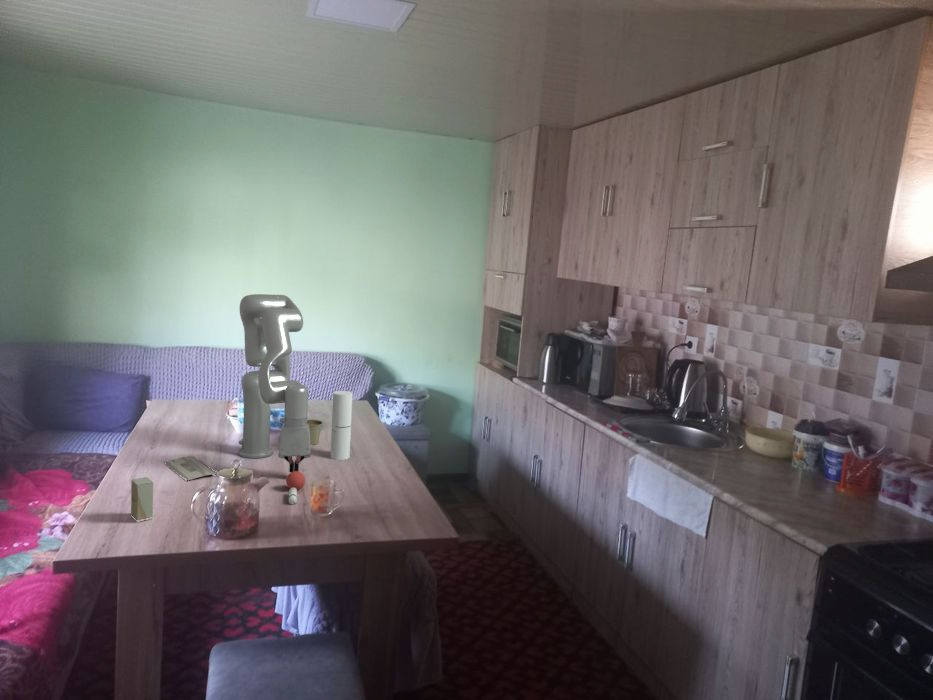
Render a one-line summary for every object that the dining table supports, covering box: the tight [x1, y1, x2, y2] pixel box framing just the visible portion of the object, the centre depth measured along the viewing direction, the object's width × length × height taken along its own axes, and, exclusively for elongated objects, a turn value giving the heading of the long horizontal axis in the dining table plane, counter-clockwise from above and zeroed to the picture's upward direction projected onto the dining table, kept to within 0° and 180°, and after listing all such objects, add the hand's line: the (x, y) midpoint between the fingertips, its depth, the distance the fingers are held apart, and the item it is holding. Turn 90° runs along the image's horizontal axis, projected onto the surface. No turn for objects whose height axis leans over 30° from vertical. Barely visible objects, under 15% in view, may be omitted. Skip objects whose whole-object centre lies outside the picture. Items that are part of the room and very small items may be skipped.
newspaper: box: [163, 455, 218, 482], centre depth 225 cm, size 23×12×2 cm, turn 42°
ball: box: [285, 470, 306, 491], centre depth 212 cm, size 6×6×6 cm
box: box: [130, 476, 154, 520], centre depth 182 cm, size 5×4×11 cm
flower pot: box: [307, 419, 324, 446], centre depth 264 cm, size 9×9×9 cm
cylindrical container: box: [330, 390, 354, 461], centre depth 248 cm, size 7×7×25 cm
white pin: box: [288, 487, 298, 505], centre depth 204 cm, size 2×2×8 cm
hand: (293, 474), depth 223 cm, fingers closed
